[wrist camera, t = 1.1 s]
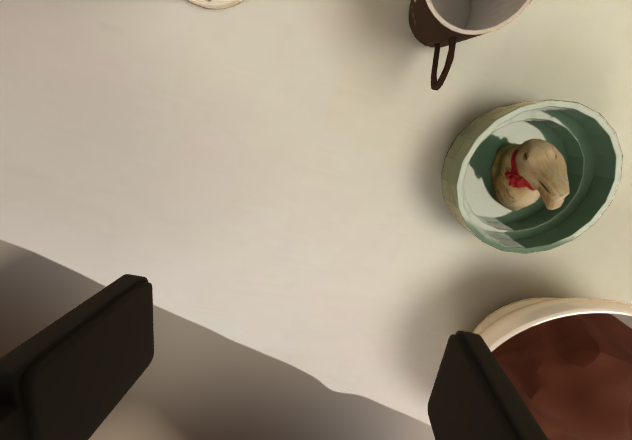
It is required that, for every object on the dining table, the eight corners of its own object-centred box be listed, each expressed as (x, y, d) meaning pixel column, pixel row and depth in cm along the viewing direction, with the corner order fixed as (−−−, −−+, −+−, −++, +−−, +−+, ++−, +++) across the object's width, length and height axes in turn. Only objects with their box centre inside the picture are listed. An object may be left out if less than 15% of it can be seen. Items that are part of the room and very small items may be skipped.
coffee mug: (439, -61, 30) (485, -145, 20) (503, 0, 31) (576, -53, 21) (361, 49, 33) (369, 21, 24) (422, 101, 34) (453, 93, 25)
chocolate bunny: (549, 145, 34) (629, 155, 25) (518, 211, 37) (580, 243, 27) (501, 133, 34) (562, 138, 25) (473, 200, 37) (519, 228, 27)
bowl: (458, 96, 34) (479, 92, 28) (601, 111, 33) (650, 109, 28) (428, 226, 38) (442, 243, 33) (553, 241, 38) (587, 261, 33)
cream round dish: (671, 319, 40) (857, 431, 25) (538, 438, 47) (623, 576, 33) (509, 229, 38) (612, 296, 23) (398, 368, 45) (424, 483, 31)
